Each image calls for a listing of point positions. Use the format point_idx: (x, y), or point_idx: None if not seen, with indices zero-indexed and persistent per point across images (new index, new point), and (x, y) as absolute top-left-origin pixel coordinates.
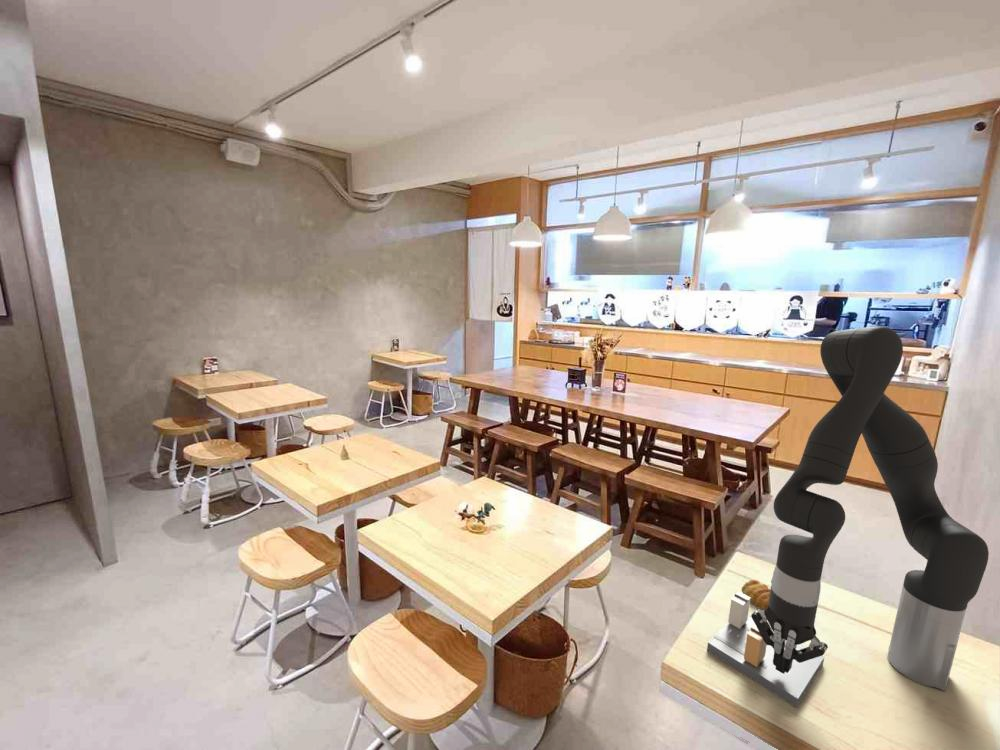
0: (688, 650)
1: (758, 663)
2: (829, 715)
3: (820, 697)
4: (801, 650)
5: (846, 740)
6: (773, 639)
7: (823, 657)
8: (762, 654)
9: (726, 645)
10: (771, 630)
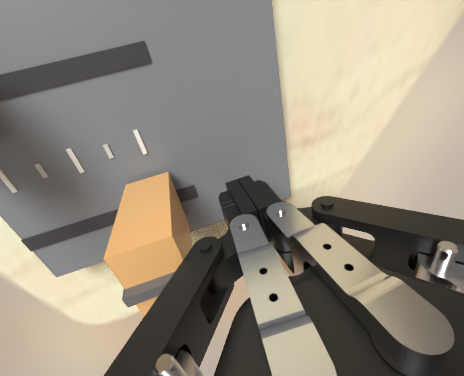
0: (57, 293)
1: (185, 217)
2: (326, 133)
3: (297, 101)
4: (333, 222)
5: (361, 158)
6: (231, 274)
7: None
8: (178, 206)
9: (82, 237)
10: (206, 280)
